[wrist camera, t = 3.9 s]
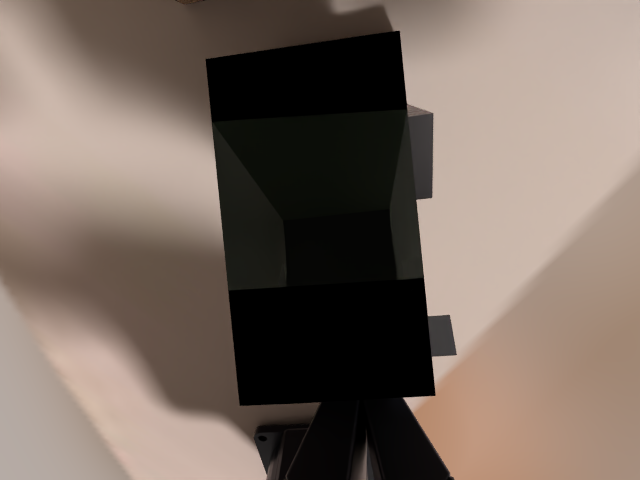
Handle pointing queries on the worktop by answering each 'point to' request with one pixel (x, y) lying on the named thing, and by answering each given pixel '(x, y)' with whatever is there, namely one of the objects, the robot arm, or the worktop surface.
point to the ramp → (188, 1)
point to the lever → (322, 224)
